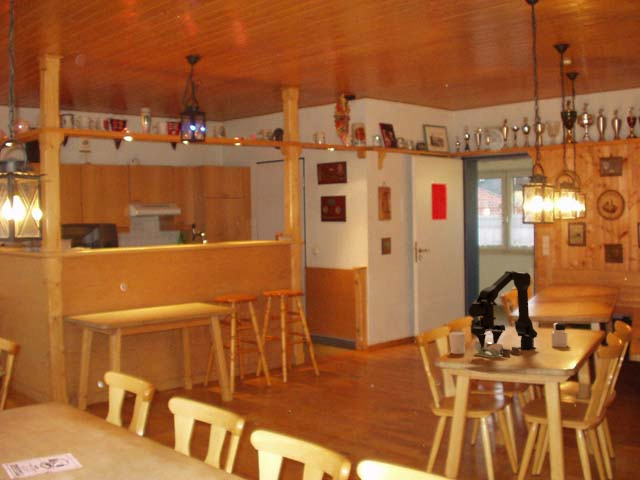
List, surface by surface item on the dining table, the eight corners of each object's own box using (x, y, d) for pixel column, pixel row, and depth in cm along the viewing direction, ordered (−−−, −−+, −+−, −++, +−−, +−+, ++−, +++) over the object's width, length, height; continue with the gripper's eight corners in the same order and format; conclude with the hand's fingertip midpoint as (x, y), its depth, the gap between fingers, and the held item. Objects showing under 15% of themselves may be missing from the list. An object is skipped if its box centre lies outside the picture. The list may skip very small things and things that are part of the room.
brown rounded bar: (474, 349, 383) (474, 340, 383) (480, 348, 385) (480, 340, 385) (496, 353, 370) (496, 344, 370) (503, 353, 373) (503, 344, 373)
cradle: (485, 352, 385) (485, 344, 385) (503, 356, 375) (503, 347, 375) (474, 354, 381) (474, 346, 381) (492, 358, 371) (492, 349, 371)
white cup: (465, 354, 382) (465, 334, 382) (449, 354, 384) (449, 334, 383) (465, 351, 390) (465, 332, 389) (450, 351, 391) (449, 331, 391)
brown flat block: (506, 352, 385) (505, 345, 385) (519, 354, 378) (519, 347, 378) (494, 354, 380) (494, 347, 380) (508, 356, 373) (507, 349, 373)
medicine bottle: (567, 345, 399) (567, 322, 399) (565, 347, 393) (565, 324, 393) (553, 344, 402) (553, 321, 402) (551, 346, 396) (551, 323, 396)
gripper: (489, 311, 389) (489, 342, 390) (462, 315, 379) (463, 346, 379) (505, 313, 380) (506, 344, 380) (479, 317, 369) (479, 349, 370)
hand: (488, 346), depth 378 cm, fingers open, 8 cm apart
